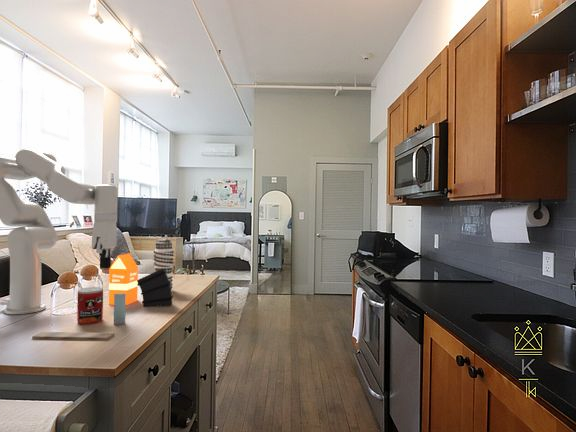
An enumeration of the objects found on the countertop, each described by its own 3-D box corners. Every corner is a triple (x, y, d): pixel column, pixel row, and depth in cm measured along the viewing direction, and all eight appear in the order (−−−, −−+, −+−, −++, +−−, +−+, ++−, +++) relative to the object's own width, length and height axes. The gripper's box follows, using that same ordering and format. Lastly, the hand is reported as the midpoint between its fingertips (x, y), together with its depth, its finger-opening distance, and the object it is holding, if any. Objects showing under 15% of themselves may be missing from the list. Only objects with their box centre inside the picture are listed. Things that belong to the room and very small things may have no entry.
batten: (32, 339, 105) (32, 336, 105) (41, 334, 109) (41, 331, 109) (107, 340, 105) (107, 337, 105) (114, 335, 109) (114, 333, 109)
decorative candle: (169, 293, 167) (170, 240, 167) (149, 293, 167) (150, 239, 167) (175, 289, 176) (176, 238, 176) (157, 289, 176) (158, 238, 176)
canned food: (76, 326, 117) (76, 292, 117) (77, 319, 125) (78, 288, 125) (102, 323, 121) (103, 290, 121) (102, 317, 128) (103, 286, 128)
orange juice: (137, 300, 154) (138, 253, 154) (126, 305, 145) (127, 255, 145) (120, 299, 155) (121, 253, 154) (108, 304, 146) (109, 255, 146)
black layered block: (179, 302, 145) (163, 268, 143) (148, 317, 143) (131, 283, 141) (180, 299, 148) (164, 267, 147) (149, 314, 146) (133, 281, 145)
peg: (111, 325, 119) (112, 295, 119) (116, 321, 123) (117, 292, 122) (122, 325, 119) (122, 295, 119) (126, 322, 123) (127, 292, 122)
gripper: (106, 217, 140) (105, 264, 140) (84, 218, 125) (83, 270, 125) (125, 218, 140) (124, 265, 140) (105, 218, 125) (105, 271, 125)
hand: (105, 267), depth 132 cm, fingers closed
